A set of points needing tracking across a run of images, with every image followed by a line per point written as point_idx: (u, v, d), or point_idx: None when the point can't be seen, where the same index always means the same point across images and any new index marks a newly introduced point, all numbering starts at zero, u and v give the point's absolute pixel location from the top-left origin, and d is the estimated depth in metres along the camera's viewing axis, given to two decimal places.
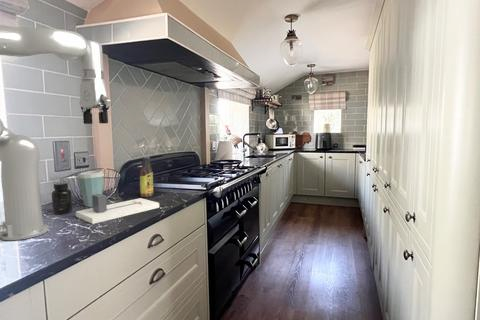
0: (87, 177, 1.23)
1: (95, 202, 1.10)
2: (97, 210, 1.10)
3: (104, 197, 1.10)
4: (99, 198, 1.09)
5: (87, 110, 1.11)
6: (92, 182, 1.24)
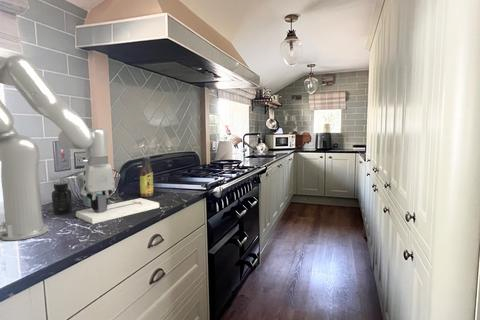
0: None
1: None
2: (97, 210, 1.10)
3: (104, 197, 1.10)
4: (99, 198, 1.09)
5: None
6: None
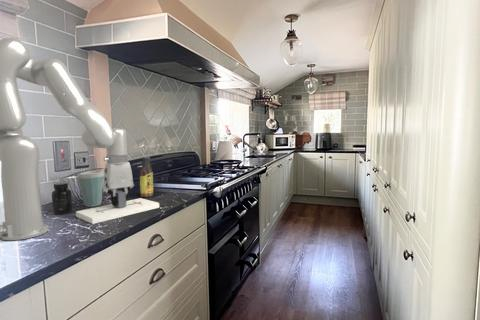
0: (87, 177, 1.23)
1: None
2: (117, 206, 1.16)
3: (124, 193, 1.16)
4: (119, 194, 1.15)
5: None
6: (92, 182, 1.24)
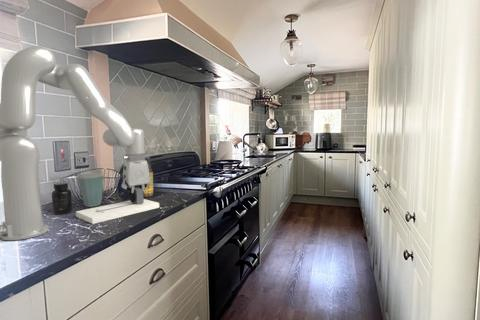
0: (87, 177, 1.23)
1: None
2: (135, 202, 1.22)
3: (141, 190, 1.22)
4: (137, 191, 1.21)
5: None
6: (92, 182, 1.24)
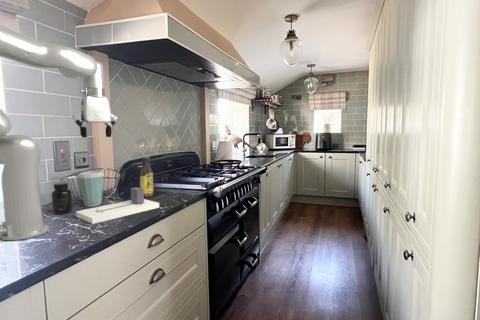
0: (87, 177, 1.23)
1: (133, 195, 1.23)
2: (135, 202, 1.22)
3: (142, 190, 1.23)
4: (138, 191, 1.21)
5: None
6: (92, 182, 1.24)
